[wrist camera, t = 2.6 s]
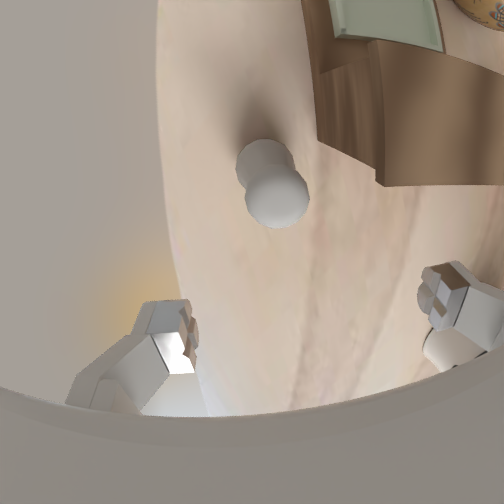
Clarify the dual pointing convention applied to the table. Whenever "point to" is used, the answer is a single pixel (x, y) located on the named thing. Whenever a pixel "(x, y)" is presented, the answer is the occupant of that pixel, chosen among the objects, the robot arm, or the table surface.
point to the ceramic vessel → (484, 12)
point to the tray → (387, 21)
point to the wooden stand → (405, 107)
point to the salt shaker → (272, 184)
